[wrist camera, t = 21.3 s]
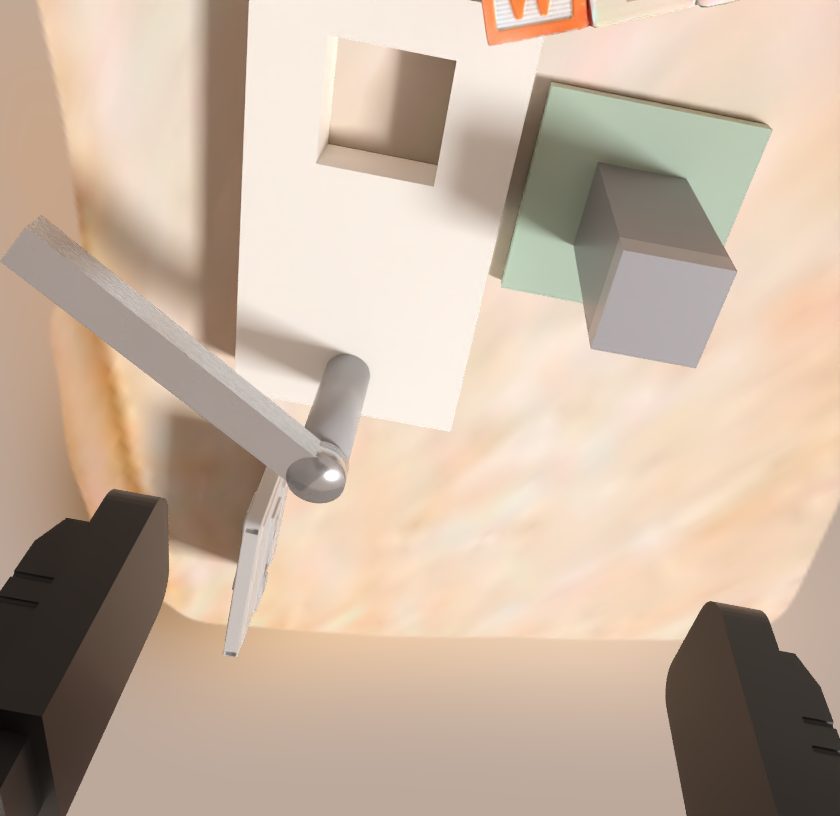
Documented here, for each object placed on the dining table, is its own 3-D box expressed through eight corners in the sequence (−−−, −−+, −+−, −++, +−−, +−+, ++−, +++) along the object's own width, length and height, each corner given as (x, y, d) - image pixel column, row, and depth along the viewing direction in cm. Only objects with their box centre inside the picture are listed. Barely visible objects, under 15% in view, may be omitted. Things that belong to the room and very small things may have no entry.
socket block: (269, -52, 34) (190, -20, 26) (546, 4, 34) (558, 54, 26) (248, 362, 46) (190, 476, 38) (453, 401, 46) (441, 523, 38)
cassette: (273, 572, 56) (244, 663, 50) (247, 565, 56) (214, 656, 50) (300, 440, 49) (269, 527, 43) (270, 433, 49) (235, 519, 43)
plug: (597, 162, 37) (623, 250, 29) (686, 178, 37) (737, 271, 29) (573, 245, 40) (590, 348, 31) (656, 261, 40) (696, 368, 31)
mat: (551, 81, 36) (552, 86, 35) (767, 124, 36) (772, 129, 36) (501, 280, 42) (501, 287, 41) (688, 316, 42) (691, 324, 41)
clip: (360, 466, 36) (356, 483, 35) (323, 494, 37) (318, 512, 36) (45, 209, 30) (29, 221, 29) (12, 253, 31) (-4, 266, 30)
